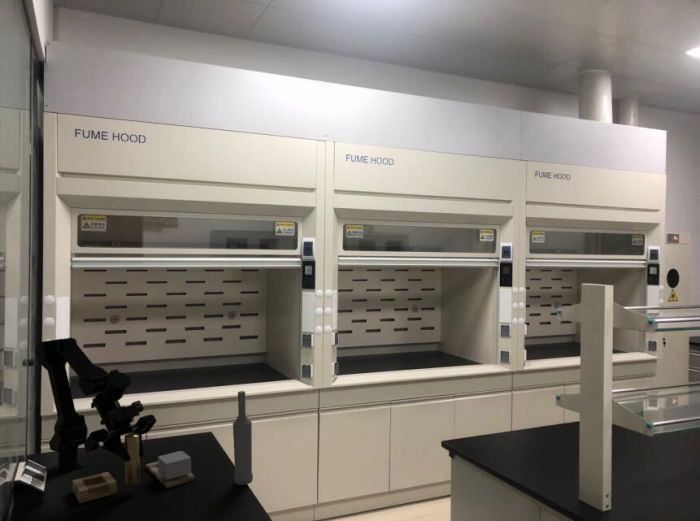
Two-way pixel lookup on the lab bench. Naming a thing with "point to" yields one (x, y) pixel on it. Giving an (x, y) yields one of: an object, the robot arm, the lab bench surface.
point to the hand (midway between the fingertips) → (135, 458)
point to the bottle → (242, 444)
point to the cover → (174, 465)
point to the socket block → (94, 487)
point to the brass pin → (132, 459)
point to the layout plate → (170, 482)
